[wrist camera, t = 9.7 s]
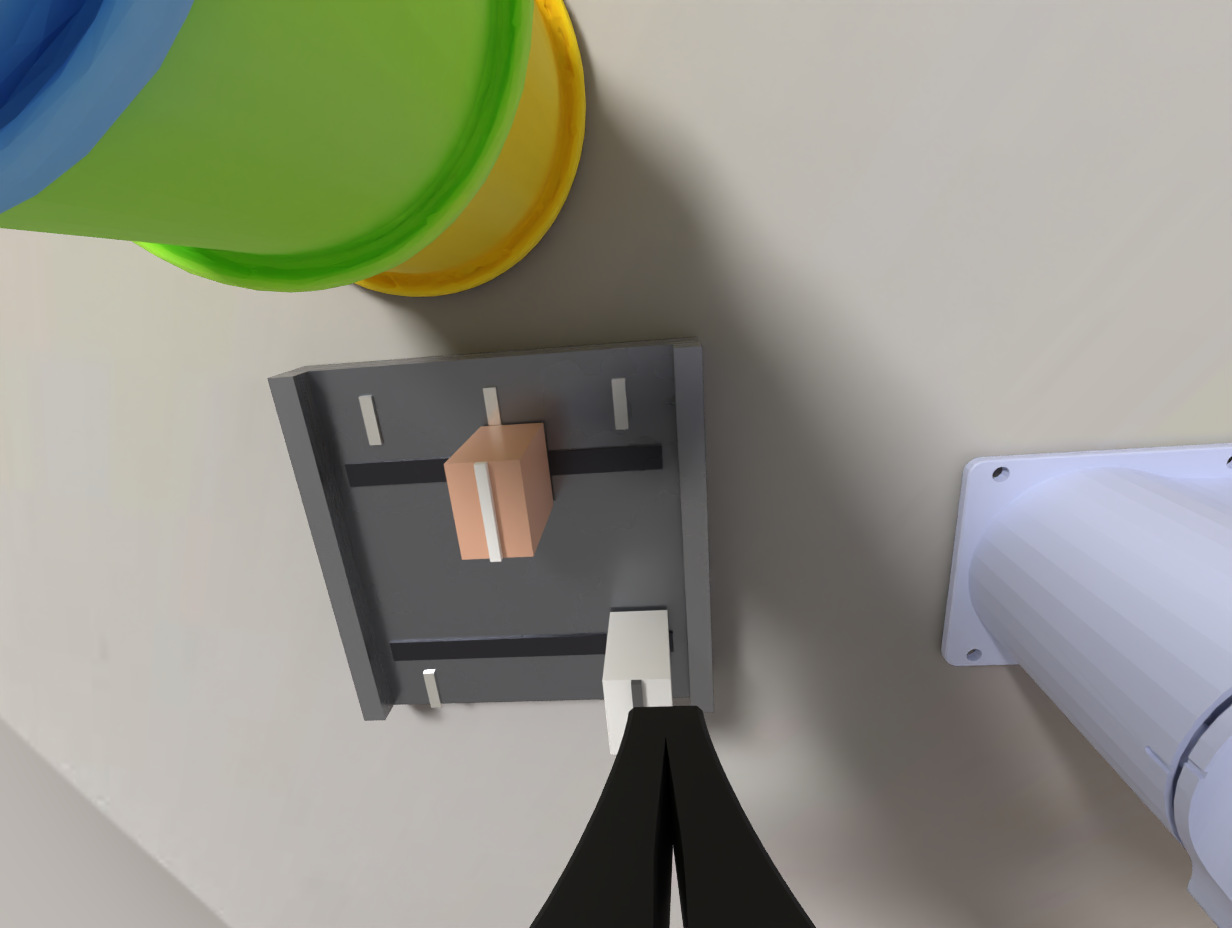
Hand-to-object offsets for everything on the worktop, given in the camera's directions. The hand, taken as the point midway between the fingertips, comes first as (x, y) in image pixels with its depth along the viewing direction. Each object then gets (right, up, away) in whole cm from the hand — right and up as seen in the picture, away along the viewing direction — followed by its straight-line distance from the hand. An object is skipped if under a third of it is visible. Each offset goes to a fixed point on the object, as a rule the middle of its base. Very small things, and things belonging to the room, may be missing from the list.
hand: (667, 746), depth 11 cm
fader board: (-4, +3, +10) cm, 11 cm away
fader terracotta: (-4, +5, +7) cm, 10 cm away
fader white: (0, -1, +9) cm, 9 cm away
